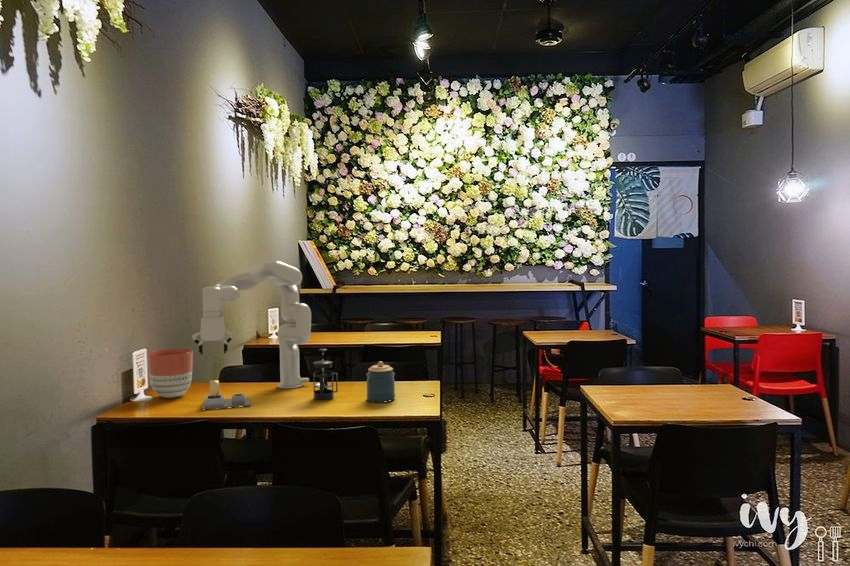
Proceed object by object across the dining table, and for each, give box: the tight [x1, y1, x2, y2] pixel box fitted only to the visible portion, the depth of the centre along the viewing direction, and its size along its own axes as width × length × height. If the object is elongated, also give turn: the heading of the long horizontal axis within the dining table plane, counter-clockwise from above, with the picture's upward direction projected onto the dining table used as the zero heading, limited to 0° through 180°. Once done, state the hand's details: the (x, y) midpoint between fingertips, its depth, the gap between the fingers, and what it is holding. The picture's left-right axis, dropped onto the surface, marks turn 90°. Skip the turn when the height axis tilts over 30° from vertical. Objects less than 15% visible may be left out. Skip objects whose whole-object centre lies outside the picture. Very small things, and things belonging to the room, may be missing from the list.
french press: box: [312, 348, 339, 401], centre depth 267 cm, size 12×9×23 cm
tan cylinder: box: [208, 379, 220, 399], centre depth 256 cm, size 4×4×10 cm
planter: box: [147, 348, 194, 399], centre depth 273 cm, size 20×20×21 cm
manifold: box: [201, 393, 251, 411], centre depth 257 cm, size 20×14×4 cm
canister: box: [365, 360, 396, 403], centre depth 264 cm, size 13×13×18 cm
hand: (213, 353), depth 255 cm, fingers open, 9 cm apart
